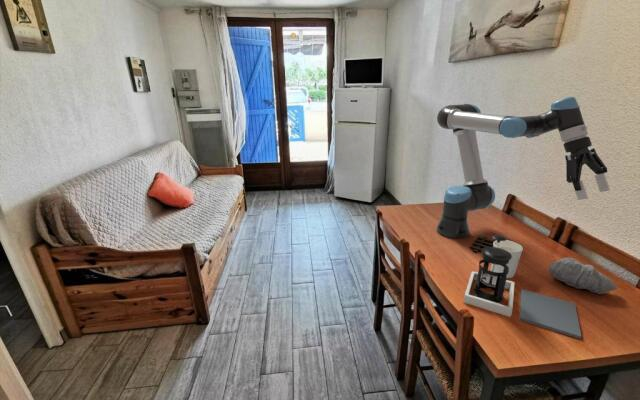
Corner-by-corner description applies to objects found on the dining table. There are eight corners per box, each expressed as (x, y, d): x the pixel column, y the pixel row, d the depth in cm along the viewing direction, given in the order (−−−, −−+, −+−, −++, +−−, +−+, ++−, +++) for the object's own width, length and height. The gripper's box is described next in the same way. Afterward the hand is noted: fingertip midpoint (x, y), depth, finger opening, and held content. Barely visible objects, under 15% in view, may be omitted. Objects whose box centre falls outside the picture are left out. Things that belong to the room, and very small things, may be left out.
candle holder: (513, 267, 123) (519, 241, 119) (519, 281, 115) (526, 253, 111) (486, 263, 127) (491, 238, 122) (490, 276, 118) (496, 249, 114)
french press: (468, 285, 113) (477, 230, 105) (493, 285, 113) (504, 229, 105) (483, 306, 102) (495, 246, 94) (511, 306, 102) (526, 245, 94)
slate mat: (519, 320, 96) (520, 317, 95) (521, 291, 109) (521, 289, 109) (580, 339, 88) (581, 336, 88) (573, 305, 101) (574, 303, 101)
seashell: (617, 295, 106) (626, 270, 103) (587, 303, 102) (595, 278, 99) (570, 270, 121) (576, 248, 117) (542, 277, 117) (548, 254, 113)
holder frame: (463, 302, 104) (464, 295, 103) (470, 277, 118) (472, 271, 117) (510, 317, 97) (512, 309, 96) (512, 289, 110) (514, 282, 109)
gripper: (565, 140, 103) (585, 200, 101) (607, 130, 112) (626, 186, 110) (543, 147, 110) (561, 204, 108) (584, 138, 119) (601, 189, 117)
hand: (594, 195), depth 109 cm, fingers open, 13 cm apart
